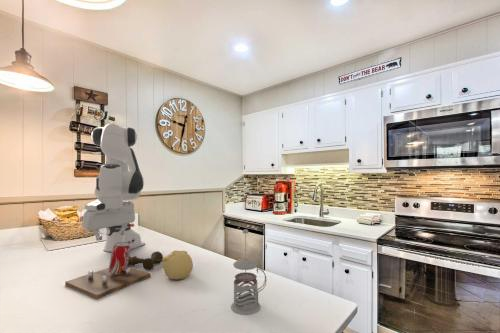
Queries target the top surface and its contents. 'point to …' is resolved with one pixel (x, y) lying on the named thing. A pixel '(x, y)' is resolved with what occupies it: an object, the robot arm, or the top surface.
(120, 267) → the soda can
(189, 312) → the top surface
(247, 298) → the french press
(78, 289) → the peg board
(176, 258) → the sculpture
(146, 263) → the kendama
